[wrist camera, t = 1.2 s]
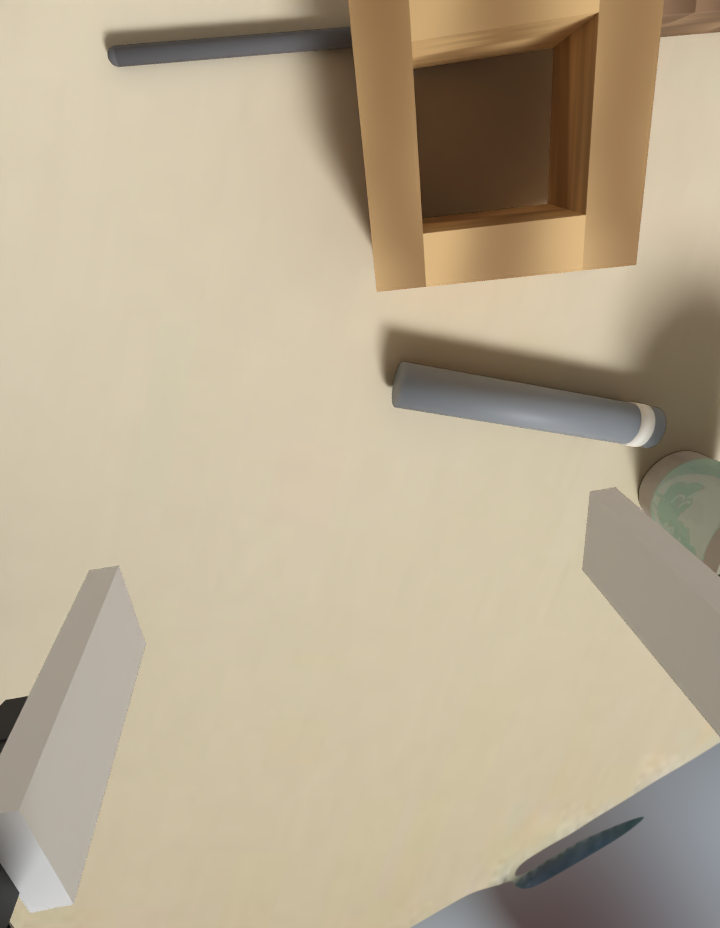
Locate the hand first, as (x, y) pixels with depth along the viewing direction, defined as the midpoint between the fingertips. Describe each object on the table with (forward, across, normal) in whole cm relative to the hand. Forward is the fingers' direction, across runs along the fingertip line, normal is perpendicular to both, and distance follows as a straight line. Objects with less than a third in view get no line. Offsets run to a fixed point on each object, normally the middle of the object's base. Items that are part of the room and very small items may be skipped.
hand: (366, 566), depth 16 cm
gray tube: (+20, +5, -2) cm, 20 cm away
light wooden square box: (+20, +10, +11) cm, 25 cm away
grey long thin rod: (+21, +1, +16) cm, 26 cm away
